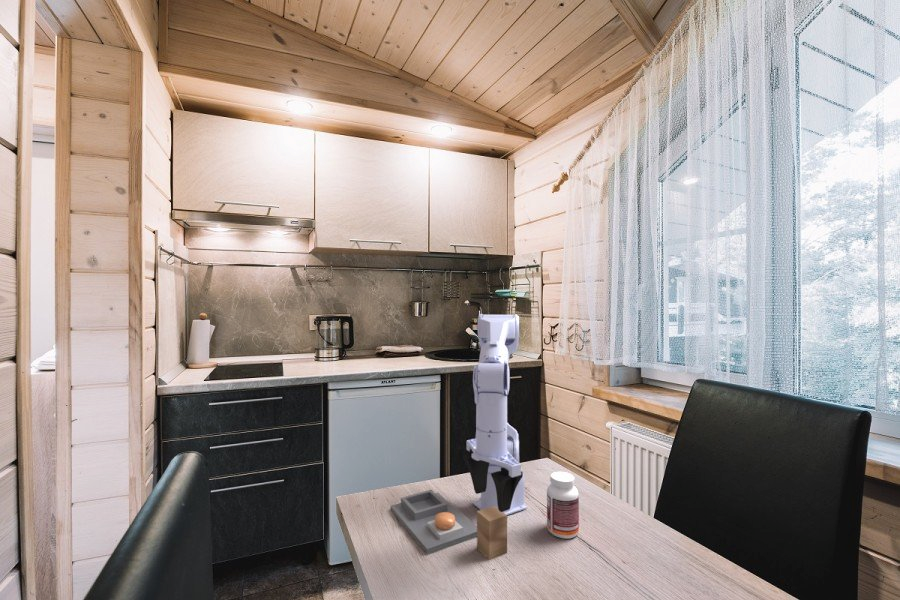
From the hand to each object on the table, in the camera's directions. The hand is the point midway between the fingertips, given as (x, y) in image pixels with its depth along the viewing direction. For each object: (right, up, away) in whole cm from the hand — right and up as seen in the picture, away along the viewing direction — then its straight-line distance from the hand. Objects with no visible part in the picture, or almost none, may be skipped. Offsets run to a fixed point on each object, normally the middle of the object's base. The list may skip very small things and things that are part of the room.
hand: (491, 500), depth 76 cm
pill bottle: (+15, -9, +6) cm, 19 cm away
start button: (-9, -7, +5) cm, 13 cm away
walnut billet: (0, -9, 0) cm, 9 cm away
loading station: (-11, -9, +10) cm, 18 cm away
